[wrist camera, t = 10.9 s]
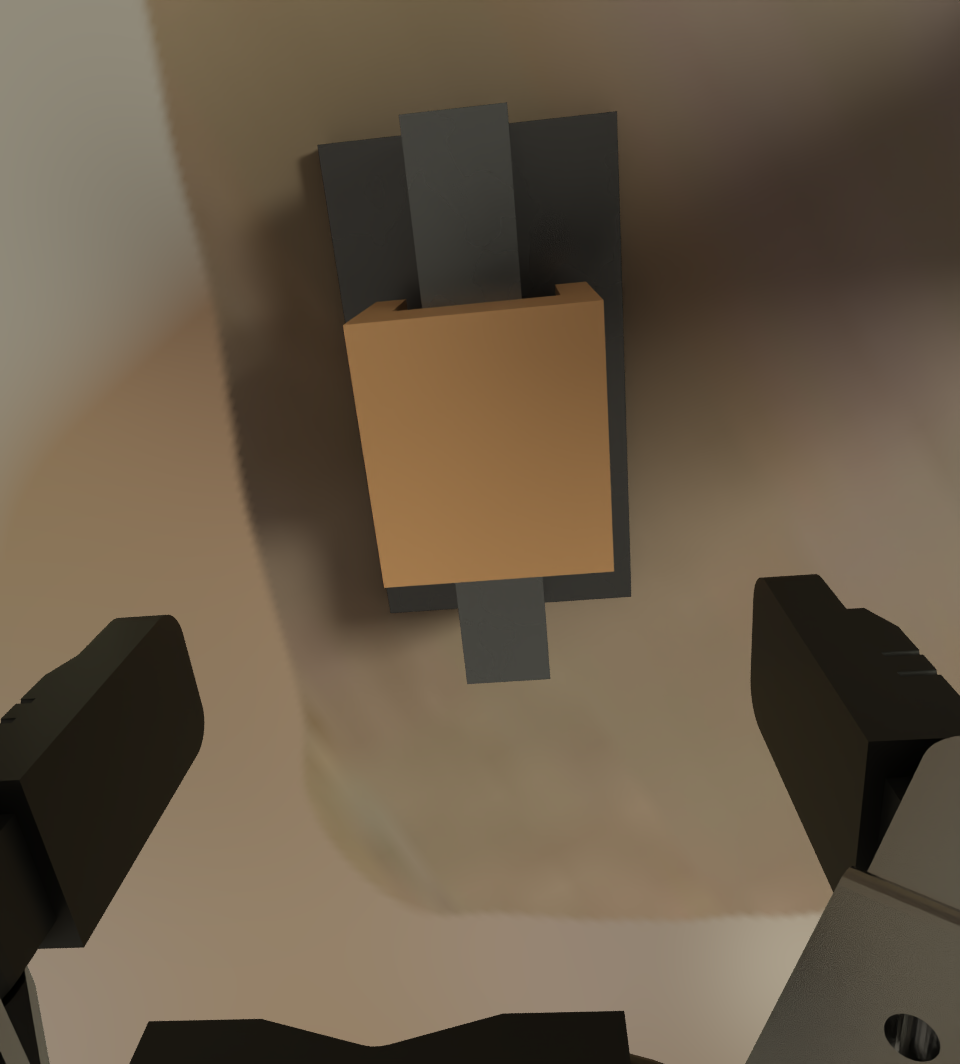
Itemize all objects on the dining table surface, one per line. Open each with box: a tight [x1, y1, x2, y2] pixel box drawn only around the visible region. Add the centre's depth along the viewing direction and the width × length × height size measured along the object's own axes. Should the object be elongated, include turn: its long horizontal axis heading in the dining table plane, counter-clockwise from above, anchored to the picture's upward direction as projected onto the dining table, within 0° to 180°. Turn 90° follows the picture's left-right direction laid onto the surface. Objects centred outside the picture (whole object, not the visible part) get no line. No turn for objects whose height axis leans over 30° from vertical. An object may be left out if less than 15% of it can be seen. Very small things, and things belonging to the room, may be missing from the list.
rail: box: [318, 103, 631, 684], centre depth 25 cm, size 16×9×6 cm, turn 6°
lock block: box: [343, 282, 614, 588], centre depth 23 cm, size 7×6×5 cm
